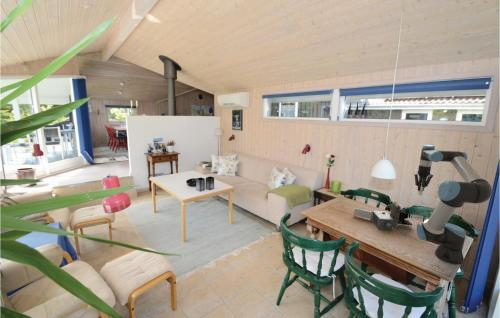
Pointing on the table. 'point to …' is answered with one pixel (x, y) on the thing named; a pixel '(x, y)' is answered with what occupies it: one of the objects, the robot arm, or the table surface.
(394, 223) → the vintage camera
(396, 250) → the table surface
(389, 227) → the camera housing
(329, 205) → the table surface
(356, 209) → the side door
